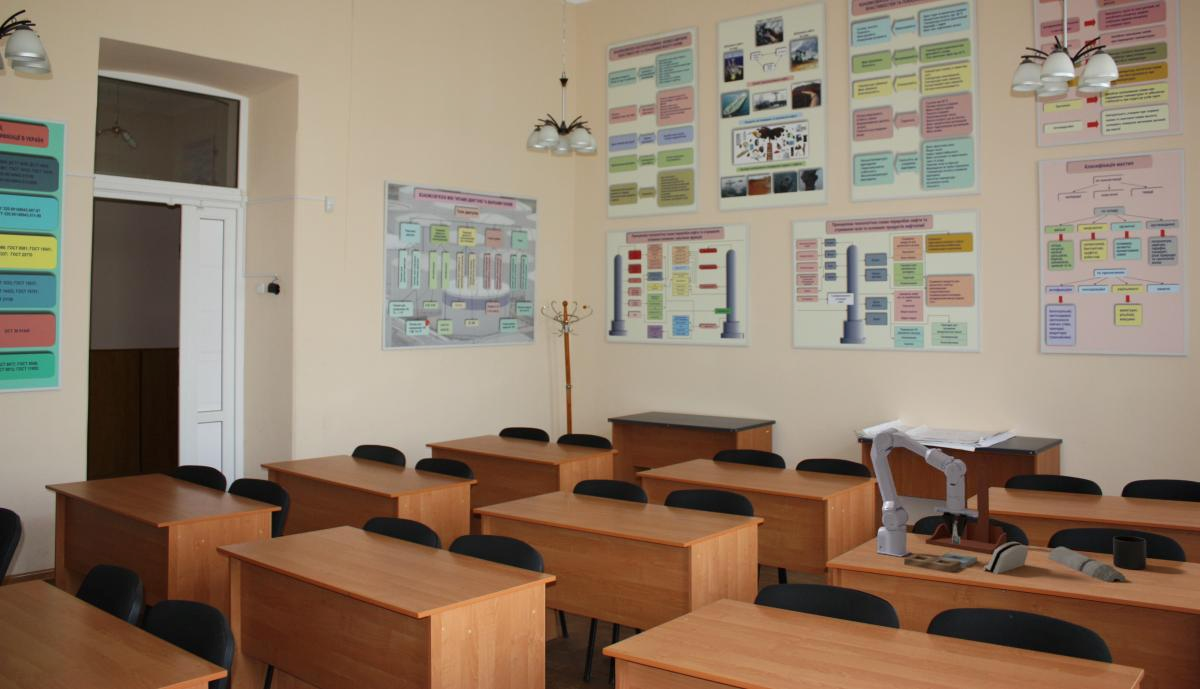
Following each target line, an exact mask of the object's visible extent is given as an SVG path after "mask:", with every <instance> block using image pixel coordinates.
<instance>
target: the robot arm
mask: <svg viewBox="0 0 1200 689" xmlns="http://www.w3.org/2000/svg"><path fill="white" fill-rule="evenodd" d="M901 447H902V448H905V449H907V450H909V451H911V452H914V453H915V454H917V455H919V456H921V457H923V458H924V460H925V462H926V463H927V464H928V465H929V466H932V467H934V468H935V469H938V471H941V472H943V473H944V475H945V476H946V506H943V505H935V506H933V512H934V513H943V514H942V515H941V517H942V519H943V521H944V524H945V523H946V525H947V528H948V532H949V535H952V522H954V520H955V517H956V515H960V516H957V522H958V536H959V537H962V536H963V533H964V529H965V526H966V523H967V521H968V522H969V520H970V517H972V518H976V519H977V517H978V511H977V510H973V509H969V508H967V509H965V483H964V474H965V473H966V470H967V471H968V467H967V468H966V465H967V464H966V462H965V461H963V460H962V459H958V458H957V459H955V456H950V455H948V454H946V453H944V452H942V451H943V450H942V449H941V448H929V447H927V446H925V445H924V444H921V443H920V442H918V441H917V440H916V439H914V438H913V437H910V436H909V435H907V434H906V433H905V432H903V431H900V430H898V429H897V428H894V427H890V428H887V429H884V430H879V431H877V433H876V434H875V435H874V436H873V438H872V445H871V448H870V454H869V455H870V460H871V462H872V465H873V466H872V467H873V470H874V473H875V477H876V482H877V484H878V489H879V492H880V495H881V499H882V502H883V504H882V508H881V511H882V517H881V521H882V524H883V526H880V527H879V528H878V531H877V551H876V553H877V554H883V555H889V556H895V557H900V558H901V557H904V556H907V555H909V554H912V551H911V550H908V547H907V526H906V524H907V523H908V521H909V519H910V518H909V517H910V516H909V513H908V511H907V510H906V509H905V507H904V504H903V503H902V501H901V500H900V499H899V496H898V493H897V488H896V486H895V482H894V479H893V475H892V472H891V467H890V464H889V461H888V455H889V454H890V453H891V451H892V450H893V449H894V448H901ZM964 462H965V463H964ZM965 464H966V465H965Z"/></svg>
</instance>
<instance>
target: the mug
mask: <svg viewBox="0 0 1200 689" xmlns="http://www.w3.org/2000/svg"><path fill="white" fill-rule="evenodd" d="M1112 543H1113V544H1112V546H1113V547H1112V550H1113V551H1112V552H1113V555H1112V556H1113V557H1112V559H1113V560H1112V561H1113V562H1112V563H1113V566H1115V567H1117V568H1121V569H1124V570H1133V571H1135V570H1137V571H1138V570H1144V569H1146V567H1147V539H1145V538H1143V537H1139V536H1133V535H1131V536H1130V535H1117V536H1116V535H1115V536H1114V537H1112Z"/></svg>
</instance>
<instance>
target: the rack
mask: <svg viewBox="0 0 1200 689" xmlns="http://www.w3.org/2000/svg"><path fill="white" fill-rule="evenodd" d="M937 557H938V556H937ZM937 557H936V556H929V555H923V554H918V553H917V554H916V553H914V554H911V555H909V556H907V557H904V558H903V560H904V563H903V564H904V565H906V566H911V567H916V568H917V567H918V568H924V569H930V570H936V571H941V572H946V573H952V572H954V571H956V570H957V571H958V569H959V570H960V569H961V568H962V567H961V561H955V560H949V559H943V558H937Z"/></svg>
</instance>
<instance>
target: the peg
mask: <svg viewBox="0 0 1200 689" xmlns="http://www.w3.org/2000/svg"><path fill="white" fill-rule="evenodd" d="M952 543H954V544H960V537H959V536H958V522H952Z"/></svg>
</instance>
